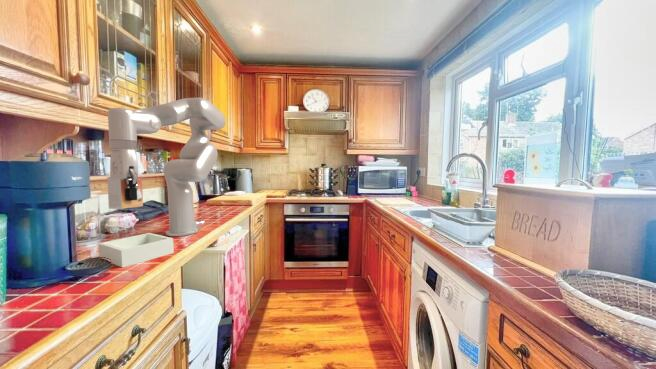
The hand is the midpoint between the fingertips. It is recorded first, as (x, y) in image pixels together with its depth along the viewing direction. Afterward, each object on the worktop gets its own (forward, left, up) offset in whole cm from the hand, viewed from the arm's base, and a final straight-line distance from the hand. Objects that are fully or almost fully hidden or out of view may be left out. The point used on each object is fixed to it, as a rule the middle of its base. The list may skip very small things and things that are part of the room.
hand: (126, 199), depth 93 cm
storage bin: (+1, +8, -18) cm, 20 cm away
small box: (0, 0, -3) cm, 3 cm away
